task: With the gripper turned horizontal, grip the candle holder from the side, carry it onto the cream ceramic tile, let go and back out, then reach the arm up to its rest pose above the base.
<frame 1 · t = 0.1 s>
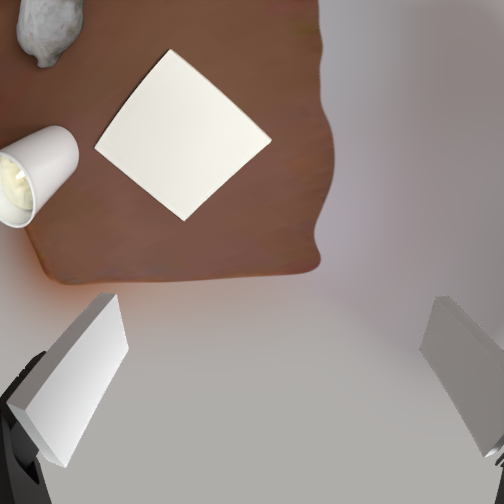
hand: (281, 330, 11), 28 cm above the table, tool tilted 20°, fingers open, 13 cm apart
candle holder: (57, 151, 35), on the table
tile: (176, 139, 34), on the table
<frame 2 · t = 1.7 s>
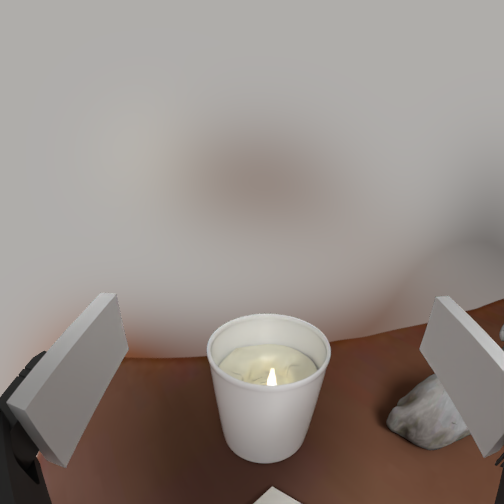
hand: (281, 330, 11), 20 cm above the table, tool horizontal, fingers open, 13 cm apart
candle holder: (264, 433, 27), on the table
sculpture: (458, 415, 26), on the table
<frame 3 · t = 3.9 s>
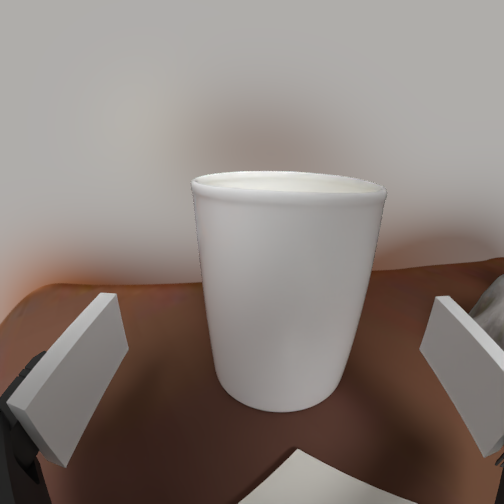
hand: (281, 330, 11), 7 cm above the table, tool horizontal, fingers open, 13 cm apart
candle holder: (278, 370, 19), on the table
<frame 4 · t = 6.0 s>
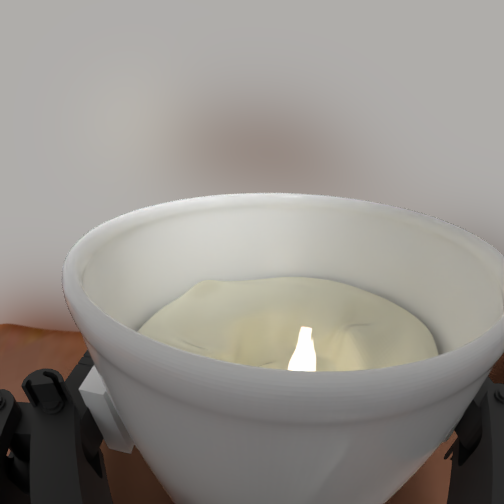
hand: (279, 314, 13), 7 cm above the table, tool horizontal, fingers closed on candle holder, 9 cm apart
candle holder: (273, 489, 11), on the table, touching gripper
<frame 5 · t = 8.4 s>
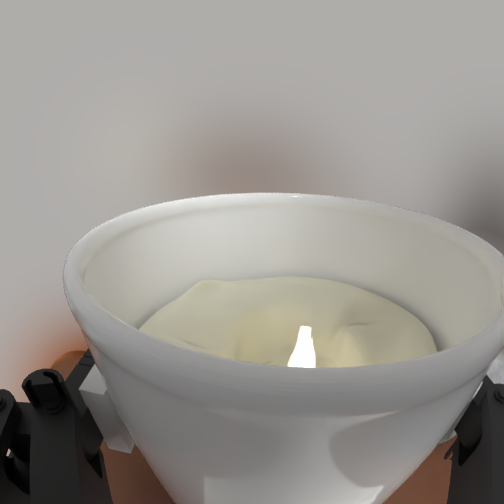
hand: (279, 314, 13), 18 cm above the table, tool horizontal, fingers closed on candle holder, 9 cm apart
candle holder: (273, 488, 11), point 11 cm above the table, touching gripper
sculpture: (454, 409, 25), on the table
when the fingers open (9 cm above the table, at t = 11.0 s): candle holder drops 1 cm, resting on tile.
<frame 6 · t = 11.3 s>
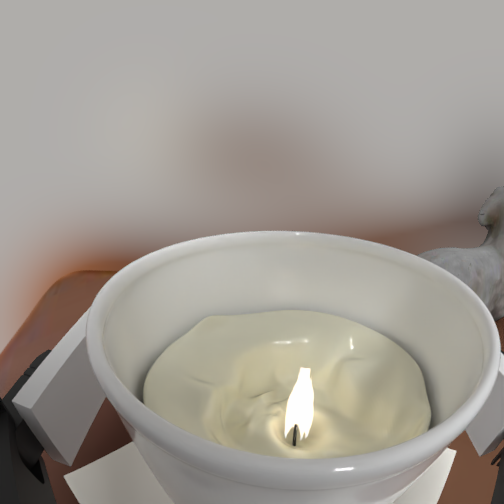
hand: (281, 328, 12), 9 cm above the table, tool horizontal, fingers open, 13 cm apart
candle holder: (273, 500, 11), resting on tile
tile: (271, 502, 11), on the table
sculpture: (452, 317, 28), on the table
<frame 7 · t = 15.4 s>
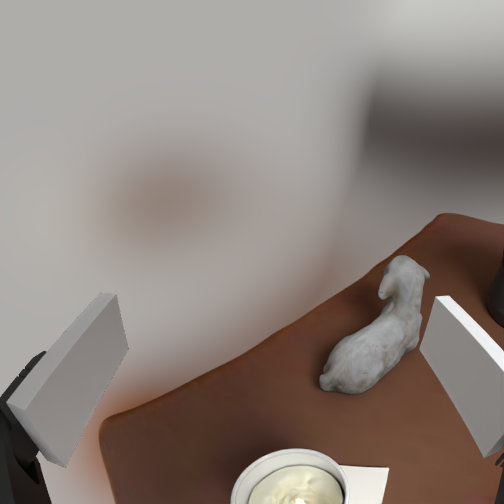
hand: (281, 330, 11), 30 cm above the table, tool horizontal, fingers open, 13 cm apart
sculpture: (377, 357, 43), on the table
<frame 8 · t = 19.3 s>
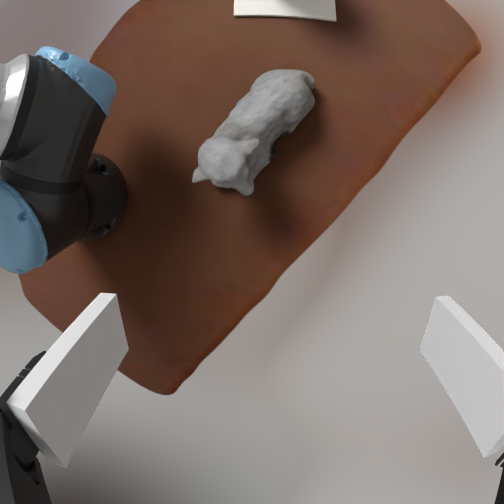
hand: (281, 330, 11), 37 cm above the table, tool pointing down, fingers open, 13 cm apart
sculpture: (260, 129, 43), on the table
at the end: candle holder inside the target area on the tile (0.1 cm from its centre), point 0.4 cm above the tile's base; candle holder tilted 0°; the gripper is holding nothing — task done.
